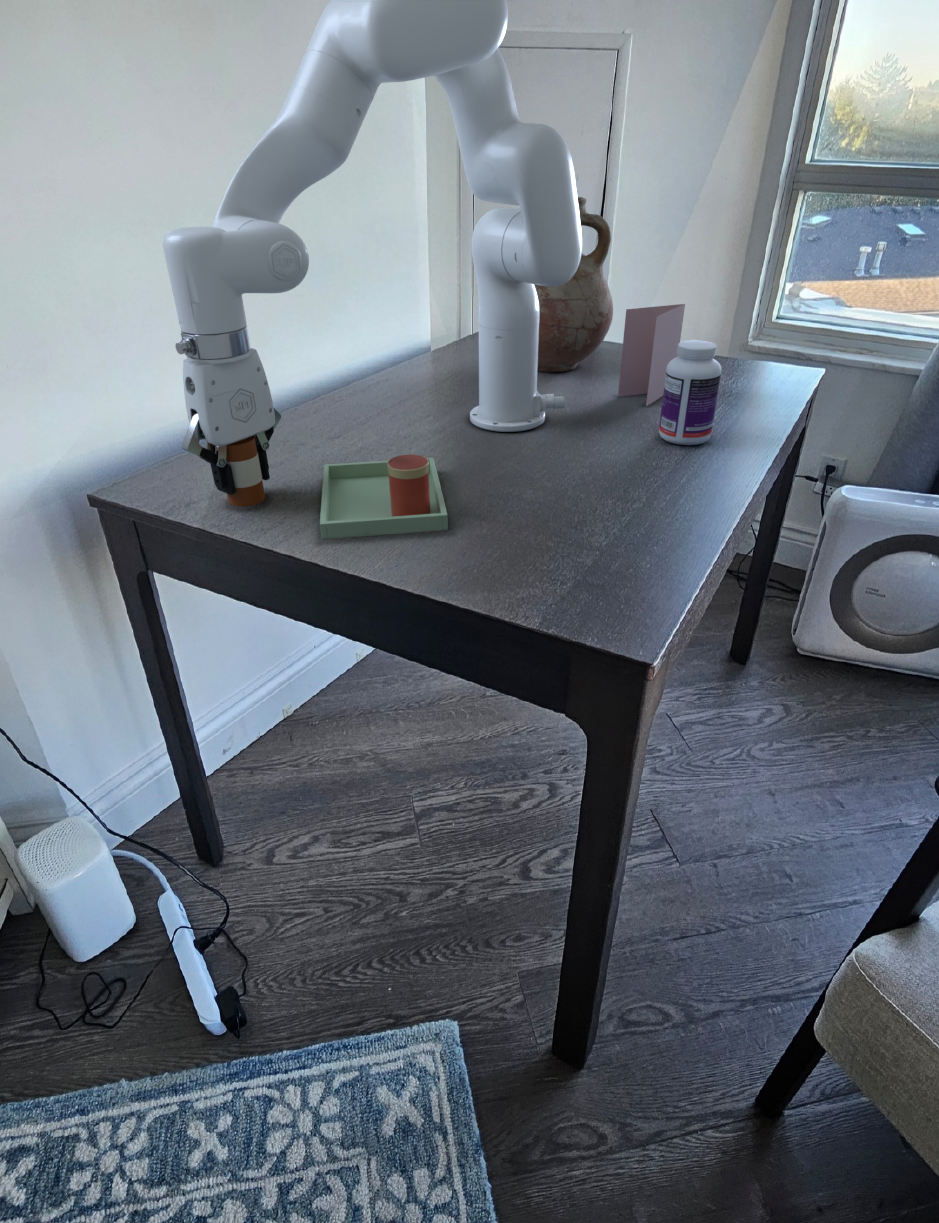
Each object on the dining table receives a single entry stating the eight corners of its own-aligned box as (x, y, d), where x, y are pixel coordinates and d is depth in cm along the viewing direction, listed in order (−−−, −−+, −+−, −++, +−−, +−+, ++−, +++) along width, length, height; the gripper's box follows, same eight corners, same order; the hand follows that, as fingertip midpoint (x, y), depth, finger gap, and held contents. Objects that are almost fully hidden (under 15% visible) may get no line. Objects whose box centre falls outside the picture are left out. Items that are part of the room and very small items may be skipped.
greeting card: (670, 388, 140) (682, 302, 132) (692, 400, 134) (706, 311, 126) (615, 395, 137) (623, 308, 129) (635, 407, 131) (645, 317, 123)
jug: (501, 351, 163) (503, 192, 146) (601, 351, 162) (614, 191, 145) (501, 381, 145) (503, 205, 128) (614, 381, 144) (631, 203, 127)
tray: (434, 474, 108) (433, 457, 107) (448, 533, 93) (447, 514, 92) (326, 481, 107) (323, 464, 105) (322, 543, 92) (319, 523, 90)
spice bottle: (267, 493, 104) (252, 408, 97) (264, 509, 100) (248, 421, 93) (231, 496, 103) (213, 410, 97) (226, 511, 99) (207, 423, 93)
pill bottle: (714, 433, 121) (730, 340, 113) (705, 450, 115) (721, 354, 107) (663, 426, 123) (676, 335, 115) (652, 443, 117) (664, 348, 109)
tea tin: (429, 503, 99) (426, 452, 95) (432, 520, 95) (430, 468, 91) (390, 506, 99) (386, 455, 95) (392, 523, 94) (388, 471, 91)
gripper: (174, 364, 82) (207, 515, 93) (292, 333, 94) (311, 470, 104) (135, 354, 86) (171, 499, 96) (253, 325, 97) (275, 458, 108)
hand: (243, 483), depth 100 cm, fingers closed on spice bottle, 4 cm apart
